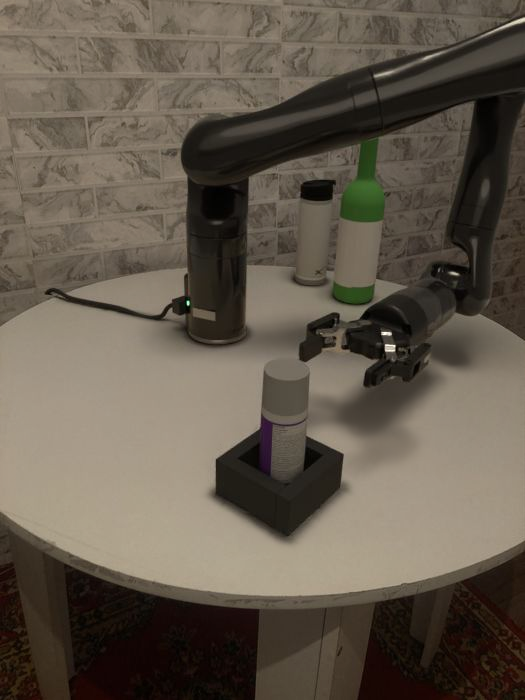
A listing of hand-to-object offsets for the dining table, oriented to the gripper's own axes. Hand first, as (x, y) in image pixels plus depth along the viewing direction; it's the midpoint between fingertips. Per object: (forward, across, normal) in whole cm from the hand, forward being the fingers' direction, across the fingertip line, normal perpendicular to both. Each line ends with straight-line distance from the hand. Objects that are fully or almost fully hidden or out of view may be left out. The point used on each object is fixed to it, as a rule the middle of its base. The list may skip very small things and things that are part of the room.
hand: (333, 366), depth 65 cm
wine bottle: (-43, -22, +11) cm, 50 cm away
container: (+9, 0, +11) cm, 15 cm away
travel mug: (-45, -33, +11) cm, 57 cm away
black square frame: (+9, 0, +11) cm, 15 cm away
